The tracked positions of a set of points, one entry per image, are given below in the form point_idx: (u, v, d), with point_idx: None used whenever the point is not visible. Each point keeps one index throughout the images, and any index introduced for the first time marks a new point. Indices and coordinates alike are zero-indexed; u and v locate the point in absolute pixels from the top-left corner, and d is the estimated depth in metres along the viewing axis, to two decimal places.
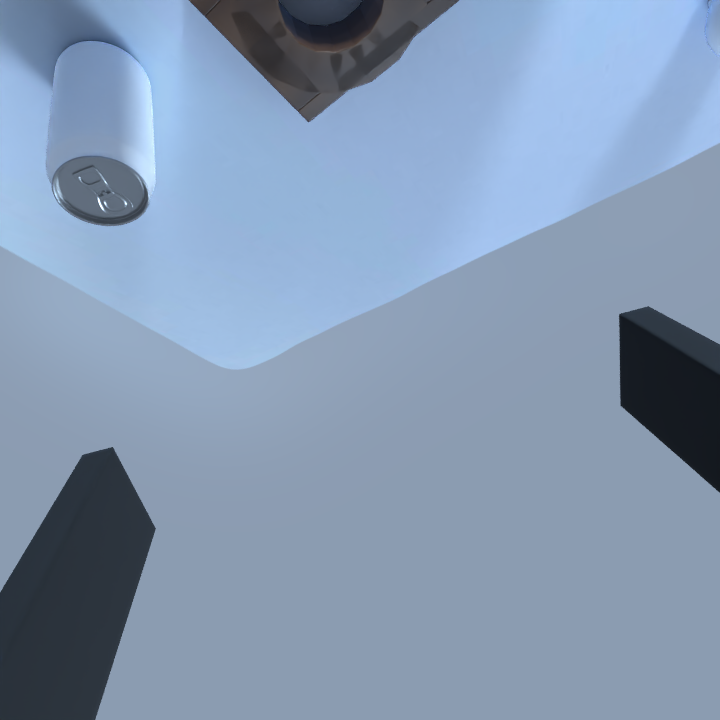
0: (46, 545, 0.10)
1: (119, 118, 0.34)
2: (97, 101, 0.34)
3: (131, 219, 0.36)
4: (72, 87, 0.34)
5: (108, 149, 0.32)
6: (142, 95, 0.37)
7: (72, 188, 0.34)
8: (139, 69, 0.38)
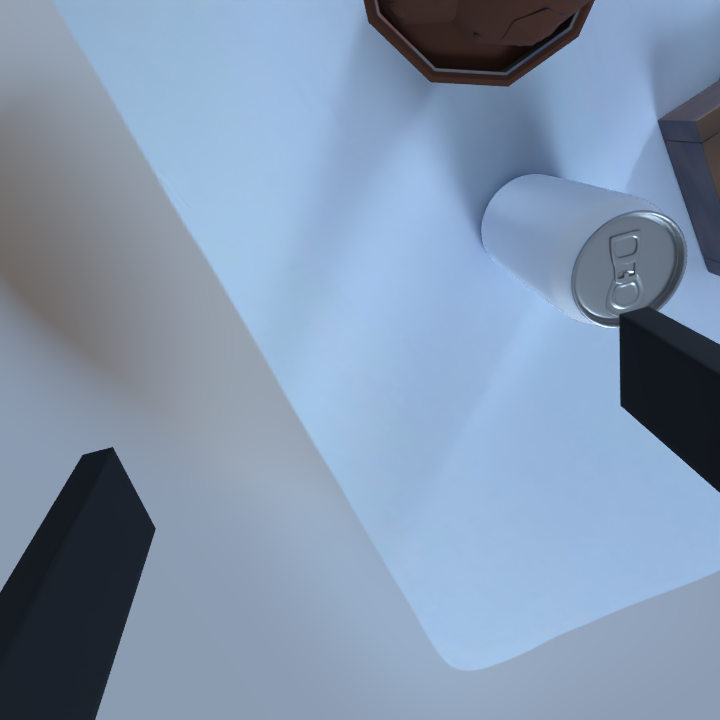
0: (46, 545, 0.10)
1: None
2: None
3: None
4: (564, 184, 0.29)
5: None
6: None
7: (595, 260, 0.25)
8: None
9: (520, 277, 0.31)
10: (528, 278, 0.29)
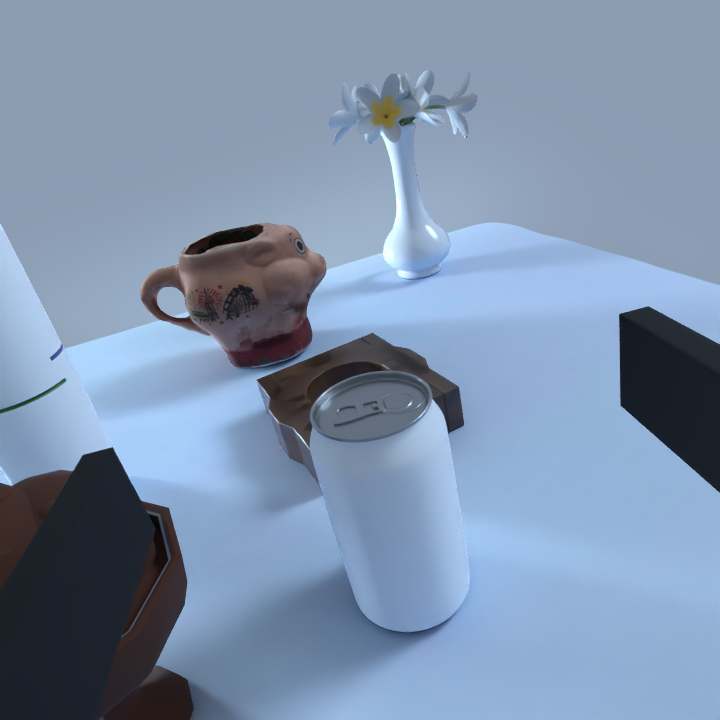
0: (46, 545, 0.10)
1: None
2: None
3: (426, 387, 0.24)
4: None
5: None
6: None
7: (355, 430, 0.23)
8: None
9: (429, 537, 0.24)
10: (415, 516, 0.23)
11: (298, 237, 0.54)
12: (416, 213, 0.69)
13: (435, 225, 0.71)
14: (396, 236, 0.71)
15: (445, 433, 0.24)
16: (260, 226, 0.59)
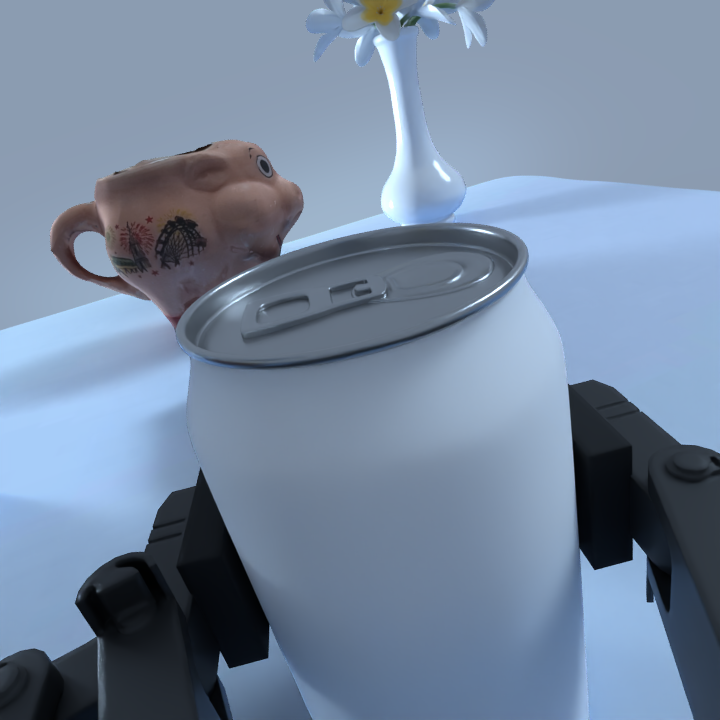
0: None
1: None
2: None
3: (500, 235, 0.09)
4: None
5: None
6: None
7: (301, 342, 0.07)
8: None
9: (524, 656, 0.08)
10: (489, 605, 0.08)
11: (262, 155, 0.39)
12: (421, 147, 0.54)
13: (446, 164, 0.56)
14: (397, 179, 0.55)
15: (564, 356, 0.08)
16: None
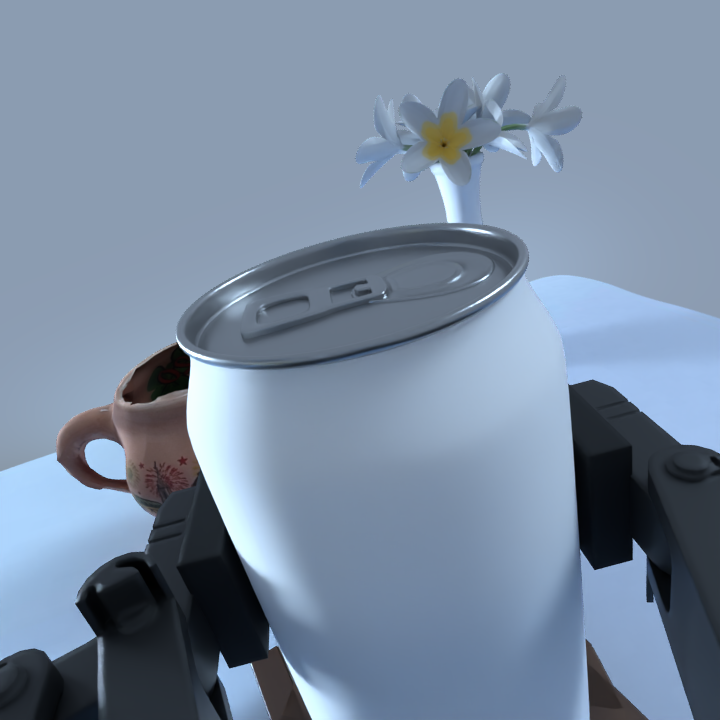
0: None
1: None
2: None
3: (500, 236, 0.09)
4: None
5: None
6: None
7: (301, 342, 0.07)
8: None
9: (524, 657, 0.08)
10: (489, 605, 0.08)
11: None
12: None
13: None
14: None
15: (564, 356, 0.08)
16: None
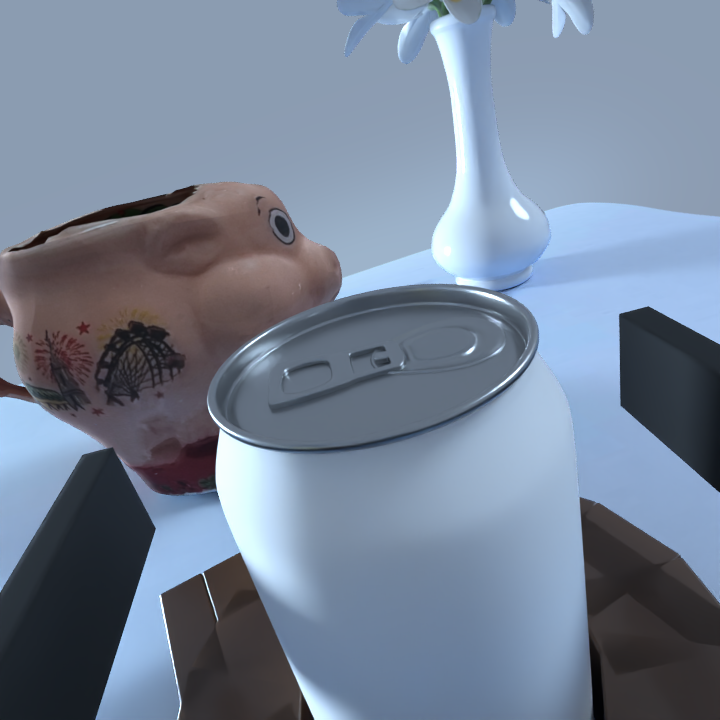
0: (46, 545, 0.10)
1: None
2: None
3: (511, 305, 0.09)
4: None
5: None
6: None
7: (327, 418, 0.08)
8: None
9: (535, 705, 0.09)
10: (503, 662, 0.08)
11: (278, 207, 0.24)
12: (494, 175, 0.39)
13: (526, 198, 0.40)
14: (459, 219, 0.40)
15: (572, 423, 0.09)
16: None
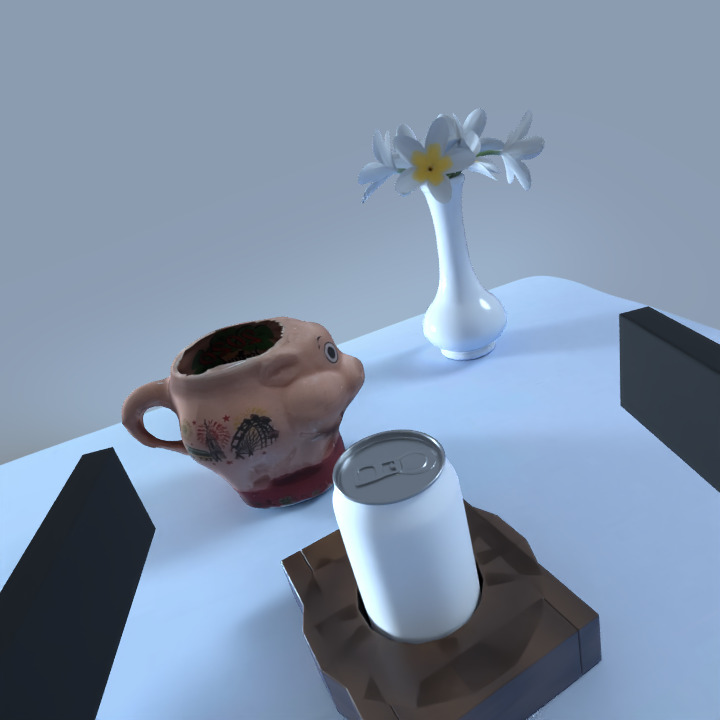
0: (46, 545, 0.10)
1: None
2: None
3: (439, 447, 0.26)
4: None
5: None
6: None
7: (376, 491, 0.25)
8: None
9: (446, 588, 0.26)
10: (433, 570, 0.25)
11: (328, 341, 0.41)
12: (465, 282, 0.56)
13: (488, 295, 0.57)
14: (441, 311, 0.57)
15: (458, 491, 0.26)
16: (276, 319, 0.45)
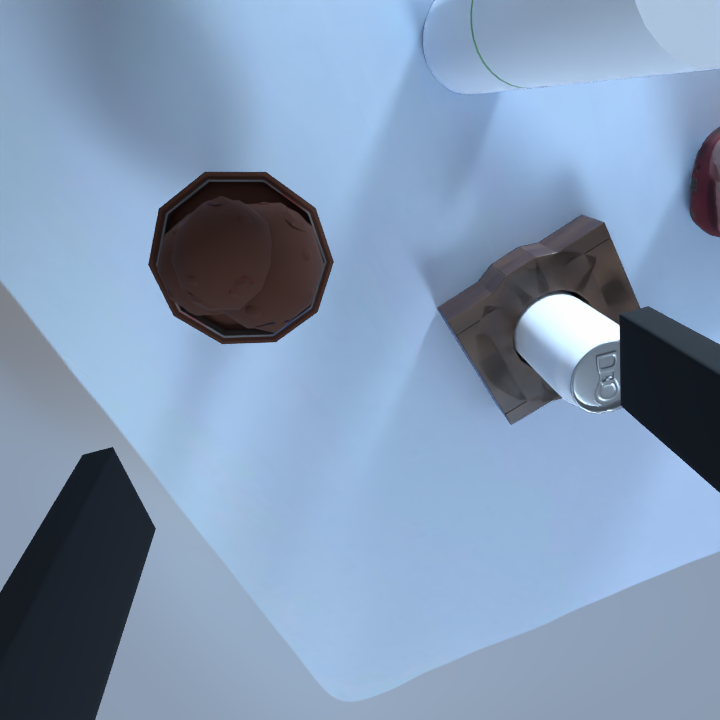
0: (46, 545, 0.10)
1: None
2: (596, 311, 0.40)
3: (613, 409, 0.38)
4: (565, 303, 0.41)
5: None
6: None
7: (586, 370, 0.36)
8: None
9: (533, 367, 0.42)
10: (539, 371, 0.41)
11: None
12: None
13: None
14: None
15: None
16: None
